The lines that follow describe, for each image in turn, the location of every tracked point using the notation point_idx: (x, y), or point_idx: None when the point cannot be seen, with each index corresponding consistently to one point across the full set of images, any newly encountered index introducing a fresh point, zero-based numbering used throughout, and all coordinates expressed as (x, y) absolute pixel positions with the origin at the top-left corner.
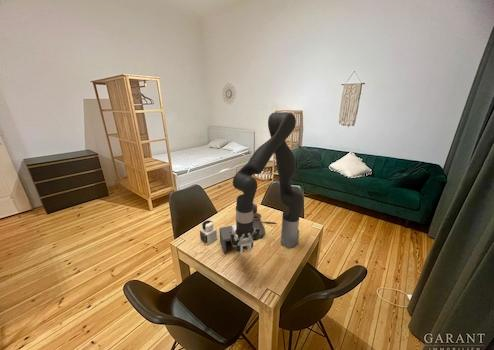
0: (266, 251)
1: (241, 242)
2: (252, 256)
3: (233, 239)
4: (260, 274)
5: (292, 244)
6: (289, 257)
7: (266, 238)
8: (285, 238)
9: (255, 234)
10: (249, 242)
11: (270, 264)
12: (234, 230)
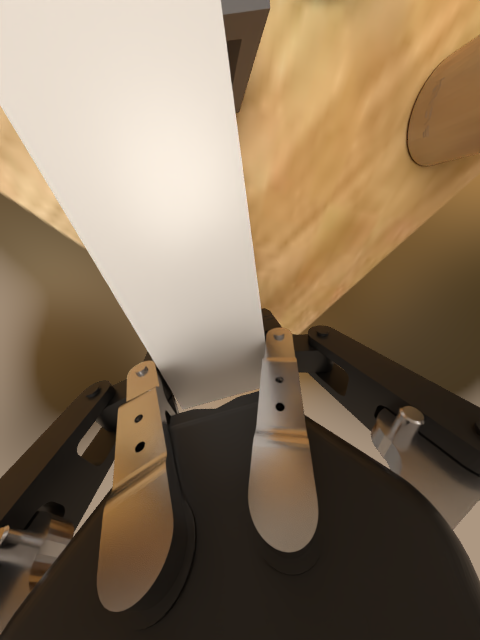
0: (319, 166)
1: (187, 385)
2: (249, 192)
3: (74, 509)
4: (259, 290)
5: (450, 160)
6: (379, 226)
7: (373, 9)
8: (472, 126)
9: (355, 404)
10: (257, 383)
11: (303, 252)
12: (3, 96)
